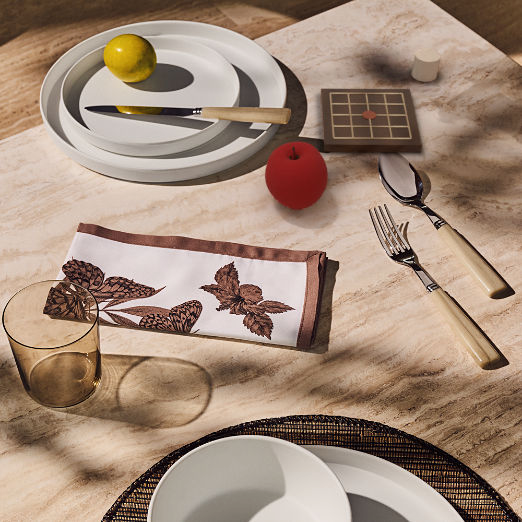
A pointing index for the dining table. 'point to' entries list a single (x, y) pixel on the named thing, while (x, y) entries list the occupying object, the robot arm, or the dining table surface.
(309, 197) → the apple
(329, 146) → the board
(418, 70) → the white cylinder
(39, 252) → the dining table surface
